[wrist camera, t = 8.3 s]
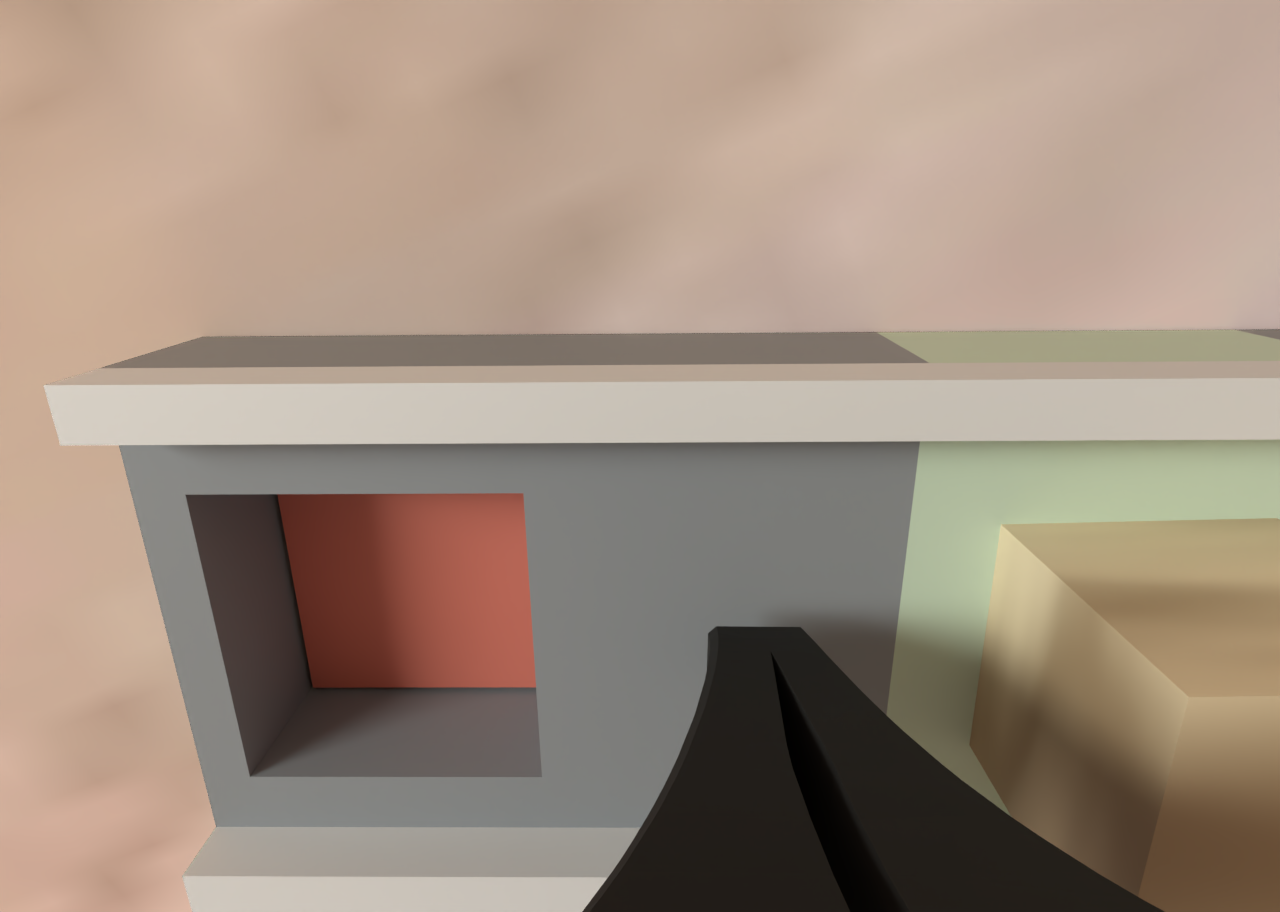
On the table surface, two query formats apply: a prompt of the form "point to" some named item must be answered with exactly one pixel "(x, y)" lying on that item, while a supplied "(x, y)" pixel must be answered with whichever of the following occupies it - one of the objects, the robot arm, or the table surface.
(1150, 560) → the maple block
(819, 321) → the table surface
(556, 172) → the table surface
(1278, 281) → the table surface
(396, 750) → the trap lane
